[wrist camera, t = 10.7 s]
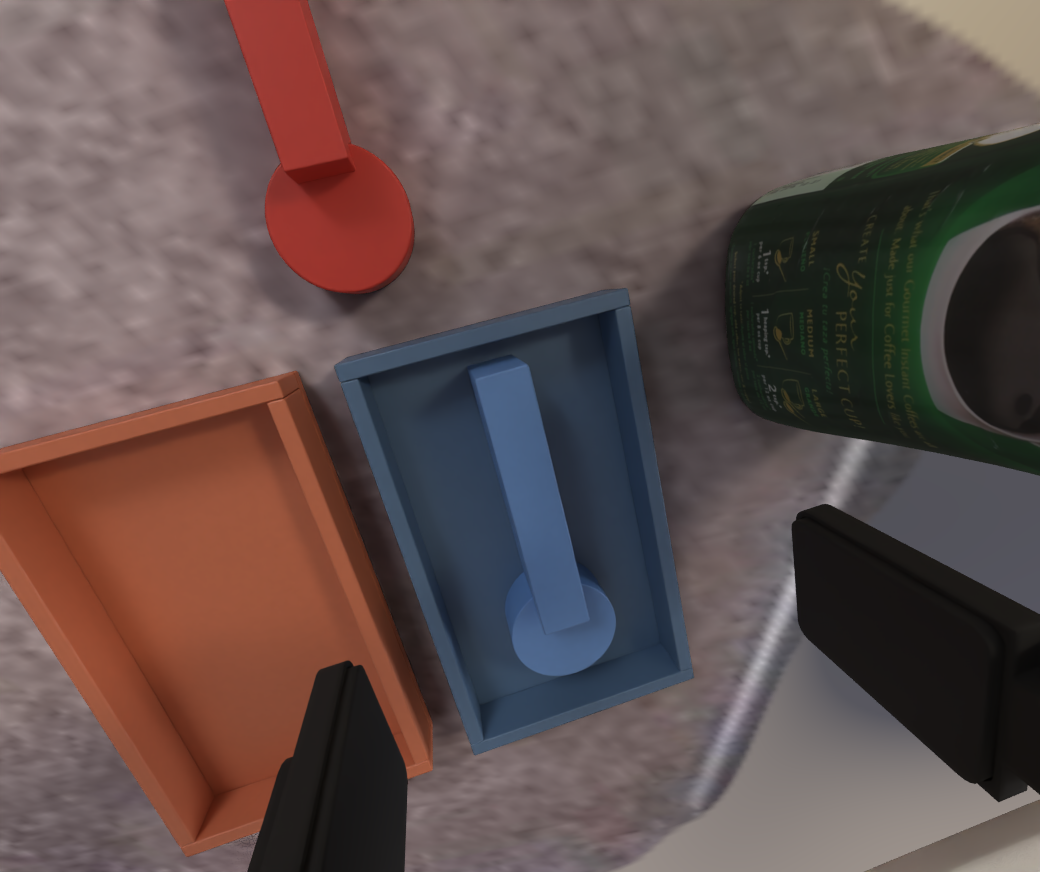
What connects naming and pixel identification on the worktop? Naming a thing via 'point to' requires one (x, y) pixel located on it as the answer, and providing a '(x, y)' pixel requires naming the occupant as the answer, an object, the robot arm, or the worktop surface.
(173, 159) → the worktop surface
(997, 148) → the coffee jar
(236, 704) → the tray orange
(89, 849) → the worktop surface
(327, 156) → the red bar with disc
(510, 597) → the blue bar with disc
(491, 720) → the tray blue
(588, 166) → the worktop surface
